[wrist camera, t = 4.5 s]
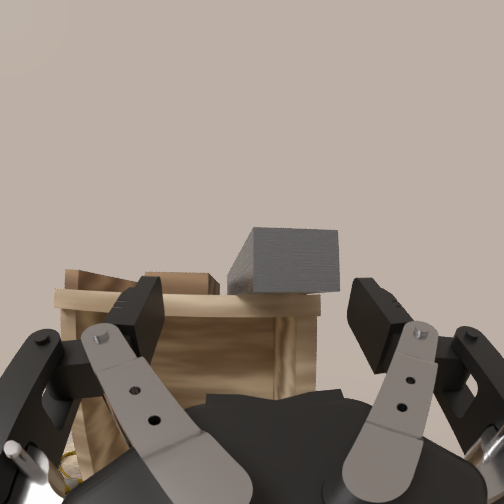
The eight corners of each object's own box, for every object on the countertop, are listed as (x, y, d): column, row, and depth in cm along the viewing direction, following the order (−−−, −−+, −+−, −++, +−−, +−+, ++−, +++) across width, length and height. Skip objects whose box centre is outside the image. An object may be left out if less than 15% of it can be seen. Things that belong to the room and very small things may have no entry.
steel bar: (339, 291, 12) (337, 230, 12) (253, 292, 12) (253, 227, 12) (257, 296, 36) (257, 275, 36) (227, 296, 35) (227, 274, 36)
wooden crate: (298, 579, 16) (320, 273, 21) (109, 565, 15) (55, 269, 20) (279, 505, 32) (284, 284, 37) (141, 499, 31) (122, 281, 36)
